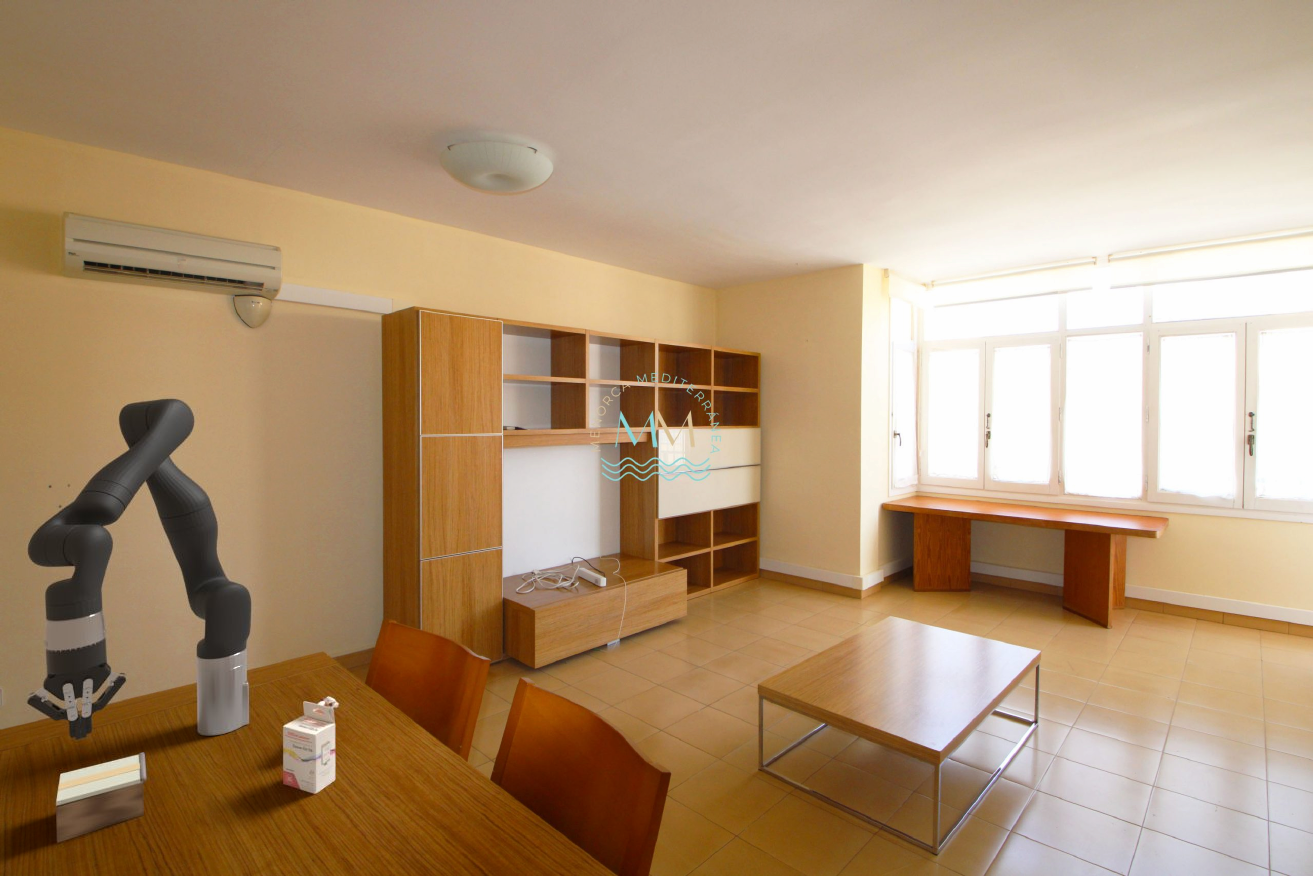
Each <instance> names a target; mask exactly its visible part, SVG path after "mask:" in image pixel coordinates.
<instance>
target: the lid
mask: <svg viewBox="0 0 1313 876" xmlns="http://www.w3.org/2000/svg"><path fill="white" fill-rule="evenodd" d="M146 767H147V766H146V755H145V752H140V753H138V754H135V755H131V756H126V757H123V758H119V759H115V760H112V761H108V762H103V763H99V764H95V765H91V766H87V767H82V768H79V769H76V770H71V771H68V772H63V773H60V776H59V783H58V788H57V796H56V802H55V807H56V806H57V805H61V804H65V803H68V802H72V801H76V800H79V799H83V798H87V797H90V796H94V795H98V794H101V793H105V792H109V791H112V790H116V789H120V788H123V787H127V786H131V785H134V784H138V783H142V782H143V783H144V782H146V781H147V768H146Z"/></svg>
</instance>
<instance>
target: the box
mask: <svg viewBox="0 0 1313 876" xmlns="http://www.w3.org/2000/svg"><path fill="white" fill-rule="evenodd" d="M55 811H56V812H55V813H56V816H55V817H56V843H57V844H58V843H61V842H64V841H67V840H71V839H73V838H77V837H80V836H83V835H87V834H89V833H92V832H96V831H98V830H102V829H104V828H108V827H111V826H114V825H117V824H120V823H122V822H127V821H129V820H132V819H133V820H134V819H136V818H139V817H142V816H144V811H145V810H144V782H142V783H138V784H134V785H131V786H127V787H123V788H120V789H116V790H112V791H109V792H105V793H101V794H98V795H94V796H90V797H87V798H83V799H79V800H76V801H72V802H68V803H65V804H61V805H57V806H56V805H55Z"/></svg>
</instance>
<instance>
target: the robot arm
mask: <svg viewBox="0 0 1313 876" xmlns="http://www.w3.org/2000/svg"><path fill="white" fill-rule="evenodd" d="M118 425H119V429H120V432H121V435H122V438H123V439H124V442H125V443H126V446H127V447H128V450H126V451H125V452H124V453H122V454H120V455H119V456H118V457H116V458H114V459H113V460H112V461H110V462H108V463H107V464H106V465H104V466H103V467H102V468H101V469H99V470H98V471H97V472H96V473H95V474H94V475H92V477H91V479H90V480H89V481H88V482H86V483H87V484H85V486H84V487H83V488H82V490H81V491H80V492H79V494H78V495H77V496H76V498H75V499H74V500H73V501H72V502H71V503H69V504H67V505H66V506H65V507H63V508H62V509H61V510H59V511H57V513H56V514H54V515H53V516H51V517H50V518H49V519H47V520H46V521H45V522H44V523H43V524H42V525H40V526H39V527H38V528H37V529H36V530H35V532H33V534H32V536H31V538H30V540H29V541H28V545H27V555H28V557H29V560H31V562H32V563H33V564H35V565H37V566H39V567H44V568H58V567H59V568H61V567H62V568H63V567H66V568H67V567H74V571H73V574H72V576H71V577H69V578H65V579H61V580H57V581H54V582H53V583H51V584H50V585H48V586H47V587H46V590H45V595H44V596H45V597H44V600H45V601H44V603H45V605H44V606H45V628H44V646H45V659H46V661H45V662H46V678H45V679H44V680H43V684H42V687H40V688H39V689H38V690H36V691H34V692H31V693H30V694H29V695H28V696H27V702H26V704H28V705H29V706H30V707H32V708H33V709H35V710H37V711H39V712H40V713H42V714H43V715H45V716H47V717H49V718H50V719H51V720H53V721H56V722H57V721H58V722H59V721H61V720H67V721H68V726H69V727H68V730H69V731H68V732H69V737H70V738H71V739H73V738H74V739H75V741H79V740H83V739H87V738H88V735H89V734H91V733H92V731H93V717H92V716H93V714H94V713H97V712H98V711H102V710H104V709H105V707H106V706H107V705H108V704H109V703H110V702H111V700H112V699H113V698H114V696H115V695H116V694H117V693H118V691H119V690H120V689H121V688H122V686H124V684H125V683H126V681H127V676H126V673H125V672H120V673H118V672H114V671H112V667H111V666H110V665H109V664H108V658H107V657H108V656H107V630H106V620H105V616H104V611H103V594H102V593H103V591H102V590H103V589H102V587H103V583H104V579H105V576H106V571H107V567H108V565H109V562H110V559H111V556H112V552H113V547H114V541H113V537H112V534H111V532H110V531H109V530H108V529H107V528H106V526H108V525H109V526H110V525H112V524H114V523H116V522H117V521H118V520H119V519H120V518H121V517H122V515H123V514H124V512H125V511H126V510H127V508H128V507H129V505H130V503H131V502H132V500H133V499H134V497H135V496H136V495H137V493H138V492H139V490H140V489H141V487H142V486H143V485H144V484H145V483H146V485H147V488H148V490H149V492H150V496H151V497H152V500H153V503H154V505H155V508H156V511H157V514H158V517H159V520H160V523H161V525H162V529H163V530H164V533H165V535H166V537H167V539H168V542H169V545H170V548H171V549H172V552H173V555H174V556H175V559H176V561H177V563H178V565H179V568H180V570H181V574H182V577H183V582H184V586H185V591H186V595H187V601H188V604H189V607H190V609H191V611H192V613H193V614H194V615H195V616H196V617H198V618H199V619H201V620H204V638H202V639H200V640H199V641H198V642H197V643H196V695H197V696H196V699H197V701H196V702H197V704H196V705H197V709H196V711H197V713H196V714H197V715H196V716H197V720H196V722H197V723H196V725H197V733H198V734H199V735H202V736H208V737H209V736H210V737H211V736H218V735H224V734H226V733H230V732H233V731H236V730H238V729H239V728H241V727H243V726H246V725H249V724H250V709H249V707H250V705H249V704H250V703H249V700H250V699H249V697H250V696H249V695H250V694H249V692H250V691H249V687H250V684H249V682H248V678H247V677H248V672H247V671H248V670H247V669H248V668H247V667H248V665H247V658H248V657H247V656H248V655H247V654H248V653H247V642H248V638H249V636H250V634H251V627H252V626H251V625H252V624H251V623H252V597H251V594H250V592H249V590H248V588H247V587H246V586H245V585H243V584H241V583H238V582H235V581H232V580H229V578H228V577H227V575H226V574H225V571H224V569H223V567H222V565H221V562H220V559H219V556H218V535H219V525H218V520H217V516H216V513H215V511H214V508H213V505H212V502H211V500H210V497H209V495H208V494H207V492H206V491H205V489H203V488H202V486H201V485H199V484H198V483H197V482H195V481H194V480H193V479H192V478H190V476H188V475H187V474H186V473H185V472H184V471H182V470H181V469H180V468H179V467H178V465H176V464H175V463H174V461H173V460H172V458H171V455H172V454H173V452H175V450H177V449H178V448H179V447H180V446H181V445H182V444H183V443H184V442H185V441H186V440H187V439H188V438H189V436H190V435H191V433H192V432H193V430H194V426H195V416H194V413H193V411H192V409H191V407H190V405H188V403H186V402H185V401H183V400H181V399H178V398H161V399H153V400H146V401H138V402H132V403H127V404H126V405H124V406H123V407H122V408H121V409H120V412H119V415H118ZM106 681H107V687H106V688H105V690H104V691H103V692H102V693H101V695H100V696H99V697H98V698H97V699H96V701H94V702H92V701H93V695H95V693H97V692H99V690H100V688H102V686H103V684H104V683H106ZM48 693H49V694H51V695H53V696H54V697H55V698H57V699H58V700H59V701H61V702H62V701H63V702H64V704H65V708H62V707H61V706H59V705H57V704H55V703H54V702H53V701H51V700H49V697H50V695H49V694H48ZM78 699H81V700H82V705H81V714H80V713H79V707H78Z"/></svg>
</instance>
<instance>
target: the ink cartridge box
mask: <svg viewBox="0 0 1313 876" xmlns="http://www.w3.org/2000/svg"><path fill="white" fill-rule="evenodd" d="M302 702H303V703H302V707H303V715H302V716H299V717H297V718H296V719H294V720H292V721H289V722H287V723H286V724H284V725H283V726H282V727H283V728H282V733H283V734H282V745H283V747H282V754H283V755H282V757H283V758H282V762H283V763H282V765H283V766H282V770H283V771H282V777H283V778H282V781H283V782H282V784H283V785H286V786H288V787H291V788H295V789H298V790H301V791H304V792H308V793H311V794H314V795H315V794H318V793H319V792H321V791H322V790H323V789H324V788H326V787H328V786H330V784H331V783H333V782H335V781H336V722H335V710H334V708H330V707H326V706H323V705H319V704H318V703H315V702H309V701H302ZM313 709H319V710H320V711H323V712H324V714H321V713H317V712H314V711H313Z"/></svg>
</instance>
